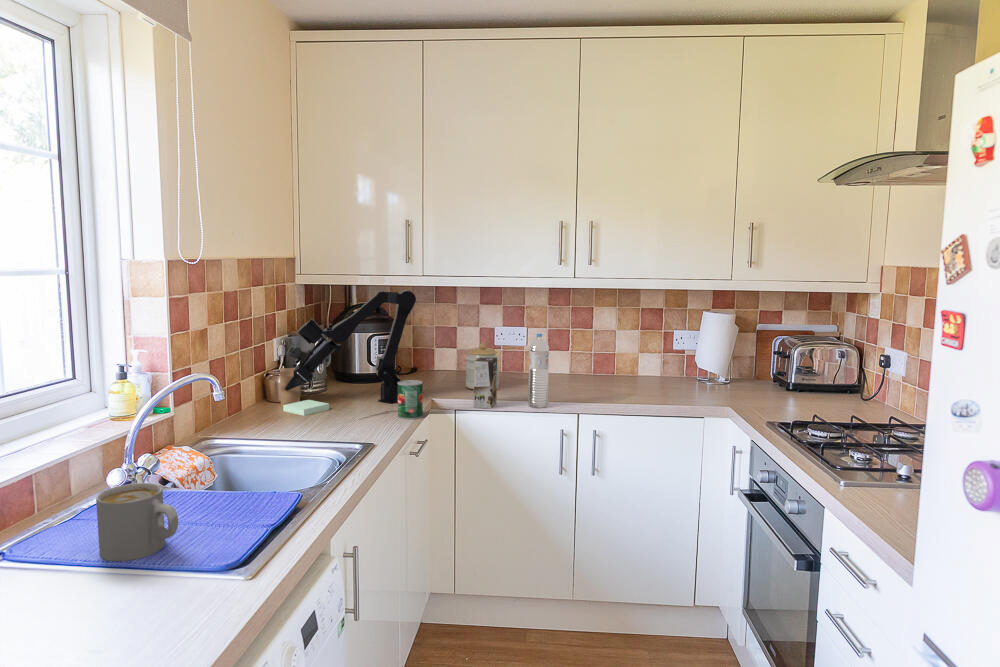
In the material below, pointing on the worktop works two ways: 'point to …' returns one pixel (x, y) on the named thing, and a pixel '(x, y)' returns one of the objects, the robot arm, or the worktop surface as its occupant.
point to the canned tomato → (410, 399)
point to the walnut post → (291, 394)
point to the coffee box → (485, 382)
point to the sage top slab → (306, 407)
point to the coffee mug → (133, 521)
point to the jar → (473, 356)
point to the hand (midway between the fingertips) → (285, 387)
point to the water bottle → (538, 373)
